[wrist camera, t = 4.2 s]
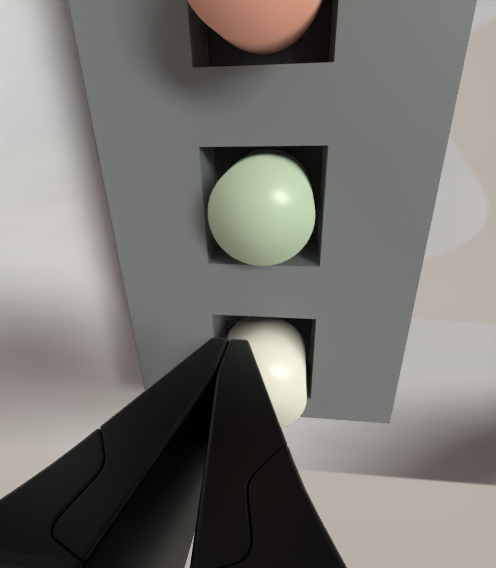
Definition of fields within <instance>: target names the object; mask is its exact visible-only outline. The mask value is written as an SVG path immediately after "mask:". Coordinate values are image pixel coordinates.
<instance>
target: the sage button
mask: <svg viewBox="0 0 496 568" xmlns="http://www.w3.org/2000/svg"><path fill="white" fill-rule="evenodd" d="M208 221H209V226H210V229H211V232H212V234H213V236H214V238H215V240H216V241H217V243H218V244H219V245H220V247H221V248H222V249H223V250H224V251H225V252H226V253H228V254H229V255H230V256H232V257H233V258H235V259H236V260H239V261H241V262H243V263H246V264H250V265H255V266H270V265H275V264H279V263H282V262H284V261H286V260H288V259H290V258H292V257H293V256H294V255H296V254H297V253H298V252H299V251H300V250H301V249H302V248H303V247H304V246H305V244H306V243H307V241H308V240H309V238H310V236H311V234H312V231H313V228H314V223H315V205H314V199H313V192H312V186H311V181H310V178H309V176H308V174H307V172H306V170H305V168H304V167H303V166H302V165H301V163H300V162H299V161H298V160H297V159H295V158H294V157H293V156H291V155H289V154H287V153H285V152H283V151H280V150H275V149H260V150H255V151H253V152H250V153H248V154H246V155H244V156H243V157H241V158H240V159H239V160H238V161H237V162H236V163H235V164H234V165H233V166H232V167H231V168H230V169H229V170H228V171H227V172H226V173H225V174H224V175H223V176H222V177H221V178H220V180H219V181H218V182H217V183H216V185H215V187H214V188H213V191H212V193H211V195H210V199H209V203H208Z"/></svg>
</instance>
